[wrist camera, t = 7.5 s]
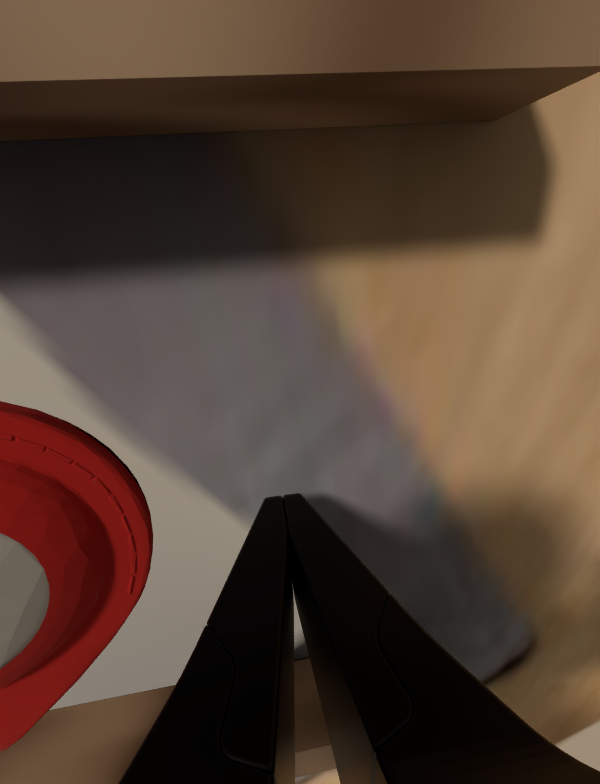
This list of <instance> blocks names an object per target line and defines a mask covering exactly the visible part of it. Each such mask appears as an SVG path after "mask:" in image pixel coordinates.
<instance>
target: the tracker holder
mask: <svg viewBox="0 0 600 784" xmlns="http://www.w3.org/2000/svg"><path fill="white" fill-rule="evenodd" d="M152 550H153V531H152V523H151V515H150V510H149V507H148V504H147V501H146V497H145V495H144V493H143V491H142V489H141V487H140V485H139V483H138V481H137V479H136V478H135V476H134V475H133V473H132V472H131V471H130V469H129V468H128V467H127V465H126V464H125V463H124V462H123V461H122V460H121V459H120V458H119V457H118V456H117V455H116V454H115V453H114V452H113V451H112V450H111V449H110V448H109V447H107V446H106V445H105V444H103V443H102V442H101V441H99V440H98V439H97V438H95V437H94V436H92V435H91V434H89V433H87V432H86V431H84V430H82V429H81V428H79V427H77V426H75V425H73V424H71V423H69V422H67V421H65V420H62V419H60V418H57V417H55V416H52V415H49V414H47V413H44V412H41V411H39V410H36V409H31V408H26V407H23V406H18V405H13V404H9V403H5V402H1V401H0V751H3V750H6V749H7V748H9V747H10V746H11V745H13V744H14V743H15V742H17V741H18V740H19V739H21V738H22V737H23V736H24V735H25V734H26V733H27V732H28V731H29V730H30V729H31V728H32V727H33V726H34V725H35V724H36V723H37V722H38V721H39V720H40V719H41V718H42V717H43V716H44V715H45V714H46V713H47V712H48V711H49V709H50V708H51V707H52V706H53V705H54V704H55V703H56V702H57V701H58V700H59V699H60V698H61V697H62V696H63V695H64V694H65V693H66V692H67V691H68V690H69V689H70V688H71V687H72V686H73V685H74V684H75V683H76V682H77V680H78V679H79V678H80V677H81V676H82V675H83V674H84V672H85V671H86V670H87V669H88V668H89V667H90V665H91V664H92V663H93V662H94V660H95V659H96V658H97V657H98V656H99V655H100V653H101V652H102V651H103V650H104V649H105V648H106V646H107V645H108V644H109V643H110V642H111V640H112V639H113V637H114V636H115V635H116V633H117V632H118V630H119V629H120V627H121V626H122V625H123V624H124V622H125V620H126V619H127V617H128V616H129V614H130V613H131V611H132V610H133V608H134V607H135V605H136V603H137V602H138V600H139V599H140V597H141V594H142V592H143V590H144V587H145V584H146V581H147V578H148V574H149V570H150V564H151V557H152Z"/></svg>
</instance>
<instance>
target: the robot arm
mask: <svg viewBox="0 0 600 784" xmlns="http://www.w3.org/2000/svg"><path fill="white" fill-rule="evenodd" d="M292 584H293V586H292ZM293 590H294V596H295V601H296V605H297V609H298V613H299V617H300V621H301V625H302V629H303V634H304V638H305V642H306V646H307V650H308V654H309V658H310V662H311V666H312V670H313V674H314V678H315V682H316V686H317V690H318V694H319V698H320V702H321V706H322V710H323V714H324V718H325V722H326V726H327V730H328V735H329V739H330V743H331V747H332V751H333V755H334V759H335V763H336V767H337V771H338V775H339V779H340V783H341V784H600V771H598V770H596V769H594V768H591V767H589V766H588V765H586V764H584V763H582V762H580V761H578V760H577V759H575V758H573V757H572V756H570V755H568V754H567V753H565V752H564V751H562V750H561V749H559V748H558V747H556V746H555V745H553V744H552V743H551V742H549V741H548V740H547V739H545V738H544V737H543V736H541V735H540V734H539V733H538V732H536V731H535V730H534V729H533V728H531V727H530V726H529V725H528V724H527V723H526V722H525V721H523V720H522V719H521V718H520V717H519V716H518V715H517V714H516V713H514V712H513V711H512V710H511V709H510V708H509V707H508V706H507V705H506V704H504V703H503V702H502V701H501V700H500V699H499V698H498V697H497V696H496V695H495V694H493V693H492V692H491V691H490V690H489V689H488V688H487V687H486V686H485V685H483V684H482V683H481V682H480V681H479V680H478V679H477V678H476V677H475V676H473V675H472V674H471V673H470V672H469V671H468V670H467V669H466V668H465V667H464V666H462V665H461V664H460V663H459V662H458V661H457V660H456V659H455V658H454V657H452V656H451V655H450V654H449V653H448V652H447V651H446V650H445V649H444V648H443V647H442V646H441V645H440V644H439V643H438V642H437V641H435V640H434V639H433V638H432V637H431V636H430V635H429V634H428V633H427V632H426V631H425V630H424V629H423V628H422V627H421V626H420V625H419V624H418V623H417V622H416V621H415V620H414V619H413V618H412V616H411V615H410V614H409V613H408V612H407V611H406V610H405V609H404V608H403V607H402V606H401V605H400V604H399V602H398V601H397V600H396V599H395V598H394V597H393V596H392V595H391V594H389V592H388V590H387V589H386V588H385V587H384V586H383V585H382V584H381V583H380V582H379V580H378V579H377V578H376V577H375V576H374V575H373V574H372V573H371V572H370V570H369V569H368V568H367V567H366V566H365V565H364V564H363V563H362V562H361V560H360V559H359V558H358V557H357V556H356V555H355V554H354V553H353V552H352V551H351V549H350V548H349V547H348V546H347V545H346V544H345V543H344V542H343V541H342V539H341V538H340V537H339V536H338V535H337V534H336V533H335V532H334V531H333V529H332V528H331V527H330V526H329V525H328V524H327V523H326V522H325V521H324V519H323V518H322V517H321V516H320V515H319V514H318V513H317V512H316V511H315V510H314V508H313V507H312V506H311V505H310V504H309V503H308V502H307V501H306V500H305V498H304V497H303V496H302V495H301V494H299V493H296V494H289V495H284V496H283V498H282V497H281V496H274V497H267V498H265V499H264V501H263V503H262V505H261V507H260V510H259V512H258V514H257V516H256V518H255V520H254V523H253V525H252V527H251V529H250V531H249V533H248V536H247V538H246V540H245V542H244V544H243V546H242V548H241V551H240V553H239V555H238V557H237V559H236V561H235V563H234V566H233V568H232V570H231V572H230V574H229V576H228V579H227V581H226V583H225V585H224V587H223V589H222V591H221V594H220V596H219V598H218V600H217V602H216V604H215V606H214V609H213V611H212V613H211V615H210V617H209V619H208V621H207V626H205V628H204V630H203V632H202V634H201V636H200V638H199V641H198V643H197V645H196V647H195V649H194V651H193V653H192V655H191V657H190V659H189V661H188V663H187V665H186V667H185V669H184V671H183V673H182V675H181V677H180V679H179V680H178V682H177V684H176V686H175V687H174V689H173V691H172V693H171V695H170V696H169V698H168V700H167V702H166V703H165V705H164V707H163V709H162V710H161V712H160V714H159V716H158V717H157V719H156V721H155V722H154V724H153V726H152V727H151V729H150V731H149V732H148V734H147V736H146V738H145V739H144V741H143V743H142V744H141V746H140V748H139V749H138V751H137V753H136V754H135V756H134V758H133V759H132V761H131V763H130V765H129V766H128V768H127V770H126V771H125V773H124V775H123V776H122V778H121V780H120V781H119V783H118V784H295V709H294V602H293Z"/></svg>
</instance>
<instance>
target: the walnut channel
mask: <svg viewBox="0 0 600 784" xmlns="http://www.w3.org/2000/svg"><path fill="white" fill-rule="evenodd" d="M597 72H600V0H0V141H19V140H43V139H66V138H90V137H114V136H137V135H161V134H184V133H208V132H231V131H255V130H279V129H302V128H326V127H349V126H373V125H396V124H420V123H444V122H467V121H491V120H496V119H498V118H500V117H503V116H505V115H507V114H509V113H511V112H513V111H516V110H518V109H520V108H522V107H524V106H526V105H528V104H531V103H533V102H535V101H537V100H539V99H541V98H544V97H546V96H548V95H550V94H552V93H554V92H556V91H559V90H561V89H563V88H565V87H567V86H569V85H572V84H574V83H576V82H578V81H580V80H582V79H584V78H587V77H589V76H591V75H593V74H595V73H597ZM429 635H430V634H429ZM175 686H176V685H174V686H169V687H164V688H159V689H154V690H149V691H144V692H139V693H134V694H129V695H124V696H119V697H114V698H109V699H104V700H99V701H94V702H90V703H84V704H79V705H74V706H69V707H64V708H59V709H54V710H50V711H48V712H47V713H46V714H45V715H44V716H43V717H42V718H41V719H40V720H39V721H38V722H37V723H36V724H35V725H34V726H33V727H32V728H31V729H30V730H29V731H28V732H27V733H26V734H25V735H24V736H23V737H22V738H21V739H19V740H18V741H17V742H15V743H14V744H13V745H11V746H10V747H9V748H7V749H6V750H3V751H0V784H118V783H119V781H120V780H121V778H122V776H123V775H124V773H125V771H126V770H127V768H128V766H129V765H130V763H131V761H132V759H133V758H134V756H135V754H136V753H137V751H138V749H139V748H140V746H141V744H142V743H143V741H144V739H145V738H146V736H147V734H148V732H149V731H150V729H151V727H152V726H153V724H154V722H155V721H156V719H157V717H158V716H159V714H160V712H161V710H162V709H163V707H164V705H165V703H166V702H167V700H168V698H169V696H170V695H171V693H172V691H173V689H174V687H175ZM294 709H295V778H296V777H300V776H304V775H308V774H313V773H317V772H321V771H325V770H330V769H334V768H337V767H336V763H335V759H334V755H333V751H332V747H331V743H330V739H329V735H328V730H327V726H326V722H325V718H324V714H323V710H322V706H321V702H320V698H319V694H318V690H317V686H316V682H315V678H314V674H313V670H312V666H311V662H310V658H309V659H304V660H299V661H294Z"/></svg>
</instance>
